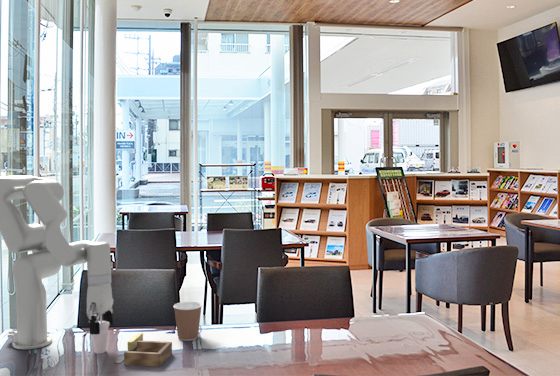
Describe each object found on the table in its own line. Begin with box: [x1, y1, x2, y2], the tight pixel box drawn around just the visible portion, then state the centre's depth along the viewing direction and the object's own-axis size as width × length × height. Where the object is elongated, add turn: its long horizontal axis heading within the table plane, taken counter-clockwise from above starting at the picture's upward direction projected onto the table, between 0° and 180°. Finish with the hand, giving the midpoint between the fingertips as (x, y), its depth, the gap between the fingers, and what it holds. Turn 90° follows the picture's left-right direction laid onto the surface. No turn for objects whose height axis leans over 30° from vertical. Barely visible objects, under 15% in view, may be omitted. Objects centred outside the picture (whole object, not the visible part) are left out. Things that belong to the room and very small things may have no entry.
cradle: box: [113, 340, 173, 368], centre depth 179 cm, size 15×20×4 cm
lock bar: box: [127, 332, 144, 351], centre depth 185 cm, size 2×10×3 cm, turn 173°
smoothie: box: [91, 314, 111, 354], centre depth 181 cm, size 6×6×14 cm
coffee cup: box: [172, 301, 203, 342], centre depth 196 cm, size 10×10×12 cm
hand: (101, 329), depth 181 cm, fingers open, 9 cm apart
